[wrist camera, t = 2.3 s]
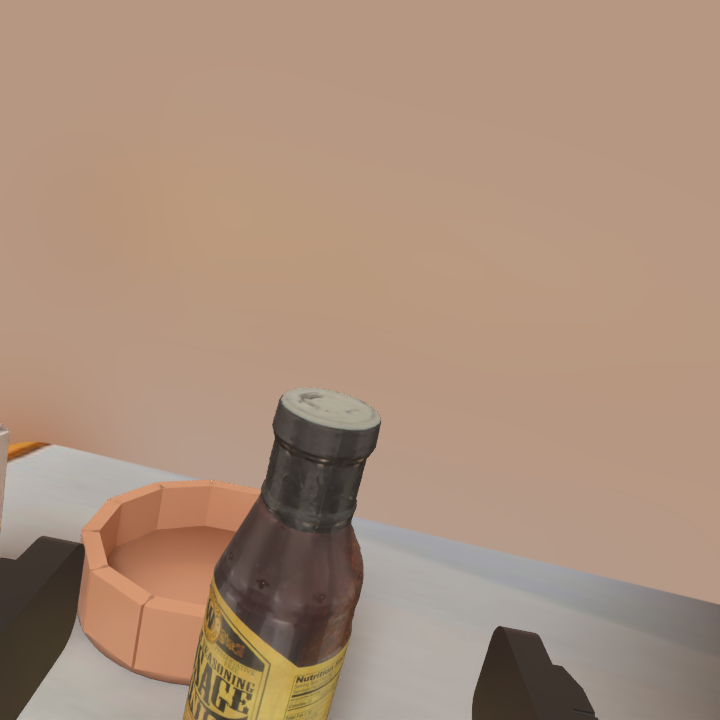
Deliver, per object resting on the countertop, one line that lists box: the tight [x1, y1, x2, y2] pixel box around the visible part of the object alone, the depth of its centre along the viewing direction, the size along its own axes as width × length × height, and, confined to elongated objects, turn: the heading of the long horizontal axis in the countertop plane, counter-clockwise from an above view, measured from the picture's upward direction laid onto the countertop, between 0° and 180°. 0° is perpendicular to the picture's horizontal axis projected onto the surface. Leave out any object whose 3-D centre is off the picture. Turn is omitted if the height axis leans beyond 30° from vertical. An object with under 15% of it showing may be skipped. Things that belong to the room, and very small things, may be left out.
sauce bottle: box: [183, 388, 381, 720], centre depth 25 cm, size 7×6×20 cm
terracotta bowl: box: [77, 480, 261, 685], centre depth 40 cm, size 16×16×4 cm
